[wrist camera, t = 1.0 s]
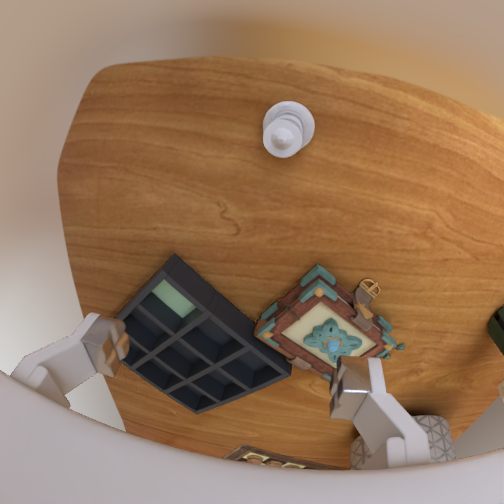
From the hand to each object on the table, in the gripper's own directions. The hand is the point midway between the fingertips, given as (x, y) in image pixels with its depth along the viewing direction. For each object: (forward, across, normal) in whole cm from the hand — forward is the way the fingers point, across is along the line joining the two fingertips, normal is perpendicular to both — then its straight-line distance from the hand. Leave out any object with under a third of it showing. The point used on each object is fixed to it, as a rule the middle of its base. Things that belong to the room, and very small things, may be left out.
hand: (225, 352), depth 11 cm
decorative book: (+20, -10, +16) cm, 27 cm away
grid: (+20, +10, +22) cm, 31 cm away
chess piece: (+20, -1, -6) cm, 21 cm away
